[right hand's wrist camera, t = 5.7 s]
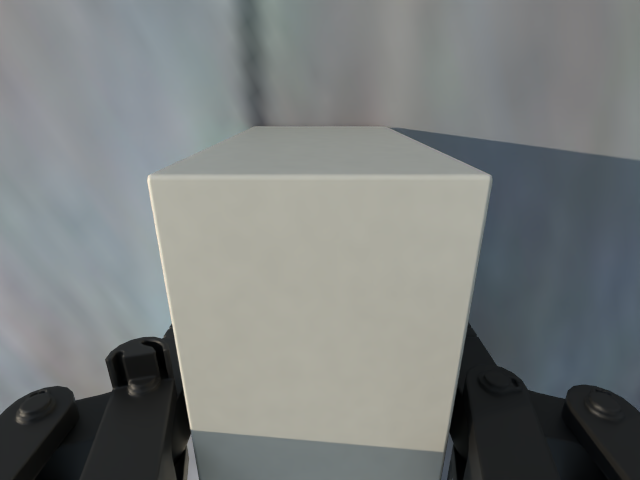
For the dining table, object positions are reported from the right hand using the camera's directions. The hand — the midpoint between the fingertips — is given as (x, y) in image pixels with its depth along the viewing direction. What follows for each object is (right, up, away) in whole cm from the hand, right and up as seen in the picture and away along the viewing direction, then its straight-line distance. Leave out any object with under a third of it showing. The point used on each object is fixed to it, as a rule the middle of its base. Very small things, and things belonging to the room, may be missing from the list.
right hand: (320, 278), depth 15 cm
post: (0, -27, +11) cm, 29 cm away
